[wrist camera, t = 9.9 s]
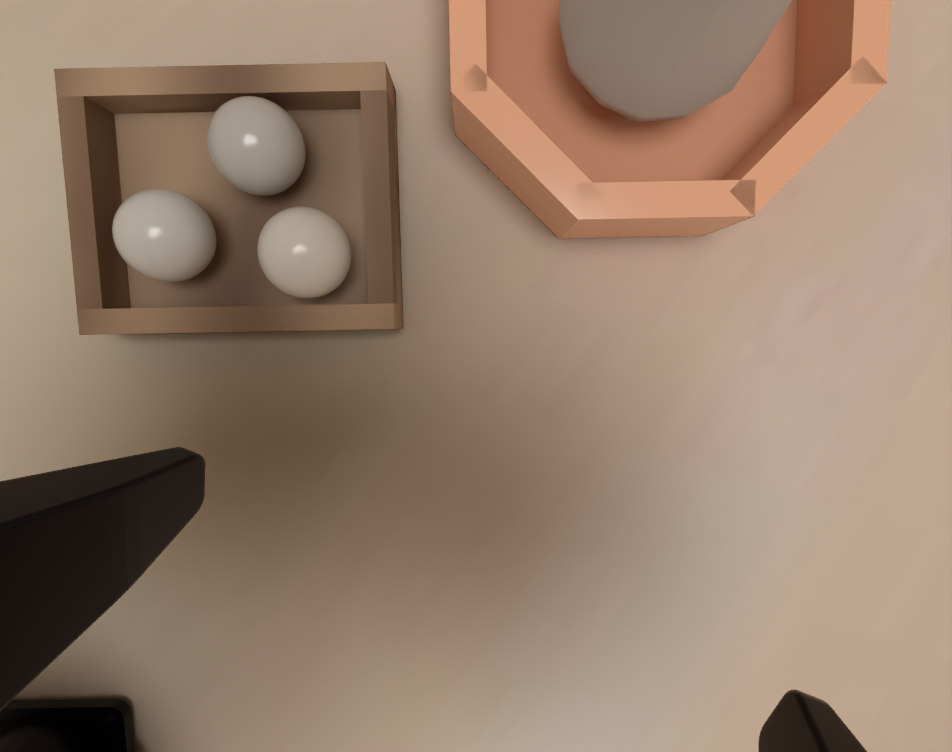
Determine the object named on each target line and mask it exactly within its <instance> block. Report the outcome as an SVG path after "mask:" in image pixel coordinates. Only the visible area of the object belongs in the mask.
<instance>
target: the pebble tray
mask: <svg viewBox="0 0 952 752" xmlns="http://www.w3.org/2000/svg"><path fill="white" fill-rule="evenodd" d="M54 72H55V82H56V93H57V103H58V114H59V124H60V135H61V145H62V156H63V166H64V177H65V187H66V198H67V208H68V219H69V229H70V240H71V250H72V261H73V271H74V282H75V292H76V303H77V313H78V324H79V334H80V335H92V334H146V333H200V332H254V331H308V330H362V329H399V328H403V303H402V272H401V242H400V211H399V180H398V149H397V118H396V90H395V88H394V85H393V82H392V79H391V76H390V73H389V71H388V68H387V65H386V62H372V63H322V64H271V65H221V66H171V67H121V68H71V69H54ZM242 96H255V97H261V98H264V99H267V100H269V101H272V102H274V103H276V104H277V105H279V106H280V107H282V108H283V109H284V110H285V111H286V112H288V113H289V114H290V116H291V117H292V118H293V119H294V121H295V122H296V124H297V125H298V127H299V129H300V131H301V133H302V136H303V139H304V143H305V149H306V158H305V164H304V168H303V170H302V173H301V175H300V176H299V178H298V179H297V181H296V182H295V183H294V184H293V185H292V186H291V187H289V188H288V189H287V190H285V191H283V192H280V193H278V194H275V195H269V196H258V195H252V194H249V193H245V192H243V191H241V190H239V189H237V188H235V187H234V186H232V185H231V184H229V183H228V182H227V181H226V180H225V179H224V178H223V177H222V176H221V175H220V174H219V172H218V171H217V170H216V168H215V166H214V165H213V163H212V161H211V158H210V156H209V152H208V148H207V129H208V125H209V122H210V120H211V118H212V116H213V114H214V113H215V112H216V110H217V109H218V108H219V107H220V106H221V105H223V104H224V103H225V102H227V101H229V100H231V99H234V98H237V97H242ZM148 189H167V190H172V191H175V192H179V193H181V194H183V195H186V196H187V197H189V198H191V199H192V200H194V201H195V202H196V203H198V204H199V205H200V206H201V207H202V208H203V209H204V210H205V212H206V213H207V214H208V216H209V217H210V219H211V221H212V223H213V225H214V228H215V232H216V250H215V254H214V256H213V259H212V260H211V262H210V264H209V265H208V266H207V267H206V268H205V269H204V270H203V271H202V272H201V273H199V274H198V275H196V276H194V277H192V278H190V279H187V280H183V281H178V282H164V281H158V280H154V279H151V278H148V277H146V276H144V275H142V274H140V273H139V272H137V271H135V270H134V269H133V268H132V267H130V266H129V265H128V264H127V263H126V262H125V261H124V259H123V258H122V257H121V255H120V254H119V252H118V250H117V248H116V246H115V243H114V240H113V234H112V225H113V219H114V216H115V214H116V212H117V210H118V208H119V207H120V205H121V204H122V203H123V202H124V201H125V200H126V199H127V198H129V197H130V196H132V195H134V194H136V193H138V192H140V191H144V190H148ZM298 206H304V207H312V208H315V209H319V210H321V211H323V212H325V213H327V214H328V215H330V216H331V217H333V218H334V219H335V220H336V221H337V222H338V223H339V224H340V225H341V227H342V228H343V229H344V231H345V233H346V235H347V237H348V239H349V242H350V246H351V253H352V258H351V266H350V269H349V272H348V274H347V276H346V278H345V279H344V281H343V282H342V283H341V285H339V286H338V287H337V288H336V289H335V290H333V291H332V292H331V293H329V294H327V295H324V296H322V297H317V298H309V299H306V298H297V297H294V296H291V295H288V294H286V293H284V292H282V291H280V290H279V289H278V288H276V287H275V286H274V285H273V284H272V283H271V282H270V281H269V280H268V279H267V277H266V276H265V274H264V273H263V271H262V269H261V266H260V264H259V260H258V254H257V244H258V239H259V235H260V233H261V230H262V228H263V227H264V225H265V224H266V222H267V221H268V220H269V219H270V218H271V217H272V216H274V215H275V214H276V213H278V212H280V211H282V210H284V209H287V208H291V207H298Z"/></svg>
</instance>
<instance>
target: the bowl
mask: <svg viewBox="0 0 952 752" xmlns="http://www.w3.org/2000/svg"><path fill="white" fill-rule="evenodd" d="M560 1H561V0H449V35H450V80H451V91H450V93H451V101H452V110H453V119H454V128H455V135H456V136H457V137H458V138H459V139H460V140H461V141H462V142H463V143H464V144H465V145H466V146H467V147H468V148H469V149H470V150H471V151H472V152H473V153H474V154H475V155H476V156H477V157H478V158H479V159H480V160H481V161H482V162H483V163H484V164H485V165H486V166H487V167H488V168H489V169H490V170H491V171H492V172H493V173H494V174H495V175H496V176H497V177H498V178H499V179H500V180H501V181H502V182H503V183H504V184H505V185H506V186H507V187H508V188H509V189H510V190H511V191H512V192H513V193H514V194H515V195H516V196H517V197H518V198H519V199H520V200H521V201H522V202H523V203H524V204H525V205H526V206H527V207H528V208H529V209H530V210H531V211H532V212H533V213H534V214H535V215H536V216H537V217H538V218H539V219H540V220H541V221H542V222H543V223H544V224H545V225H546V226H547V227H548V228H549V229H550V230H551V231H552V232H553V233H554V234H555V235H556V236H557V237H558V238H559V239H560V238H611V237H664V236H703V235H706V234H709V233H711V232H714V231H717V230H719V229H722V228H725V227H727V226H730V225H733V224H735V223H738V222H741V221H743V220H746V219H749V218H751V217H754V216H755V215H756V214H757V213H758V212H759V211H760V210H761V209H762V208H763V207H764V206H765V205H766V204H767V203H768V202H769V201H770V200H771V199H772V198H773V197H774V196H775V195H776V194H777V193H778V192H779V191H780V190H781V189H782V188H783V187H784V186H785V185H786V184H787V183H788V182H789V181H790V180H791V179H792V178H793V177H794V176H795V175H796V174H797V173H798V172H799V171H800V170H801V169H802V168H803V167H804V166H805V165H806V164H807V163H808V162H809V161H810V160H811V158H812V157H813V156H814V155H815V154H816V153H817V152H818V151H819V150H820V149H821V148H822V147H823V146H824V145H825V144H826V143H827V142H828V141H829V140H830V139H831V138H832V137H833V136H834V135H835V134H836V133H837V132H838V131H839V130H840V129H841V128H842V127H843V126H844V125H845V124H846V123H847V122H848V121H849V120H850V119H851V118H852V117H853V116H854V115H855V114H856V113H857V112H858V111H859V110H860V109H861V108H862V107H863V106H864V105H865V104H866V103H867V102H868V101H869V100H870V99H871V98H872V97H873V96H874V95H875V94H876V93H877V92H878V91H879V90H880V89H881V88H882V87H883V86H884V85H885V84H886V83H887V67H888V50H889V33H890V16H891V0H792V1H791V3H790V4H789V6H788V7H787V9H786V10H785V12H784V14H783V15H782V17H781V18H780V20H779V22H778V23H777V25H776V26H775V28H774V30H773V31H772V33H771V34H770V36H769V38H768V39H767V41H766V42H765V44H764V45H763V47H762V49H761V50H760V52H759V53H758V54H757V56H756V57H755V59H754V60H753V62H752V63H751V64H750V66H749V67H748V69H747V70H746V71H745V73H744V74H743V76H742V77H741V78H740V80H739V81H738V83H737V84H736V85H735V87H734V88H733V90H732V91H731V92H729V93H727V94H725V95H724V96H722V97H720V98H718V99H717V100H715V101H713V102H711V103H709V104H708V105H706V106H704V107H702V108H700V109H699V110H697V111H695V112H693V113H692V114H690V115H688V116H686V117H684V118H683V119H672V120H658V121H645V122H636V121H631V120H626V119H625V118H623V117H622V116H621V115H619V114H618V113H617V112H615V111H613V110H611V109H608V108H606V107H604V106H602V105H600V104H598V102H597V101H596V100H595V99H594V98H593V97H592V96H591V94H590V93H589V92H588V91H587V90H586V89H585V88H583V87H582V86H581V85H580V84H579V82H578V81H577V80H576V78H575V77H574V76H573V74H572V73H571V72H570V70H569V66H568V62H567V58H566V54H565V49H564V45H563V41H562V37H561V32H560V28H559V8H560Z"/></svg>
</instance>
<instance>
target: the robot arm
mask: <svg viewBox="0 0 952 752" xmlns="http://www.w3.org/2000/svg"><path fill="white" fill-rule="evenodd" d="M204 492H205V461H204V458H203V457H202V456H201V455H200V454H197V453H195V452H192V451H190V450H187V449H185V448H181V447H176V448H170V449H165V450H160V451H155V452H150V453H144V454H139V455H134V456H129V457H124V458H119V459H113V460H108V461H103V462H98V463H93V464H88V465H83V466H77V467H72V468H67V469H62V470H57V471H52V472H47V473H41V474H36V475H31V476H26V477H21V478H16V479H10V480H5V481H0V752H135V750H134V739H133V729H132V718H131V710H130V707H129V705H128V704H127V703H126V702H124V701H122V700H118V699H102V700H42V701H11V700H12V699H13V698H14V697H16V696H17V695H18V694H19V693H20V692H21V691H22V690H23V689H24V688H25V687H26V686H27V685H28V684H29V683H30V682H31V681H32V680H34V679H35V678H36V677H37V676H38V675H39V674H40V673H41V672H42V671H43V670H44V669H45V668H46V667H47V666H48V665H49V664H50V663H52V662H53V661H54V660H55V659H56V658H57V657H58V656H59V655H60V654H61V653H62V652H63V651H64V650H65V649H66V648H67V647H68V646H70V645H71V644H72V643H73V642H74V641H75V640H76V639H77V638H78V637H79V636H80V635H81V634H82V633H83V632H84V631H85V630H86V629H88V628H89V627H90V626H91V625H92V624H93V623H94V622H95V621H96V620H97V619H98V618H99V617H100V616H101V615H102V614H103V613H104V612H105V611H107V610H108V609H109V608H110V607H111V606H112V605H113V604H114V603H115V602H116V601H117V600H118V599H119V598H120V597H121V596H122V595H123V594H124V593H125V592H126V591H127V590H128V589H129V588H130V587H131V586H132V585H133V584H134V583H135V582H136V581H137V580H138V579H139V577H140V576H141V575H142V574H143V573H144V572H145V571H146V570H147V568H148V567H149V566H150V565H151V564H152V563H153V562H154V561H155V559H156V558H157V557H158V556H159V555H160V554H161V553H162V552H163V550H164V549H165V548H166V547H167V546H168V545H169V544H170V542H171V541H172V540H173V539H174V538H175V537H176V536H177V535H178V533H179V532H180V531H181V530H182V529H183V528H184V527H185V525H186V524H187V523H188V522H189V521H190V520H191V519H192V518H193V516H194V515H195V514H196V513H197V512H198V510H199V509H200V507H201V505H202V503H203V500H204ZM112 714H114V715H116V717H117V718H116V717H114V716H113V715H112ZM759 752H867V751H866V750H865V748H864V747H863V746H862V745H861V744H860V742H859V741H858V740H857V739H856V737H855V736H854V735H853V734H852V732H851V731H850V730H849V729H848V727H847V726H846V725H845V724H844V723H843V721H842V720H841V719H840V718H839V716H838V715H837V714H836V713H835V711H834V710H833V709H832V708H831V707H830V706H829V705H828V704H827V703H826V702H825V701H823V700H821V699H819V698H816V697H814V696H811V695H808V694H806V693H803V692H801V691H798V690H790V691H788V692H787V693H786V694H785V695H784V696H783V698H782V699H781V700H780V702H779V703H778V705H777V706H776V708H775V709H774V711H773V712H772V713H771V715H770V716H769V718H768V719H767V721H766V722H765V724H764V725H763V727H762V729H761V732H760V736H759Z"/></svg>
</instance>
